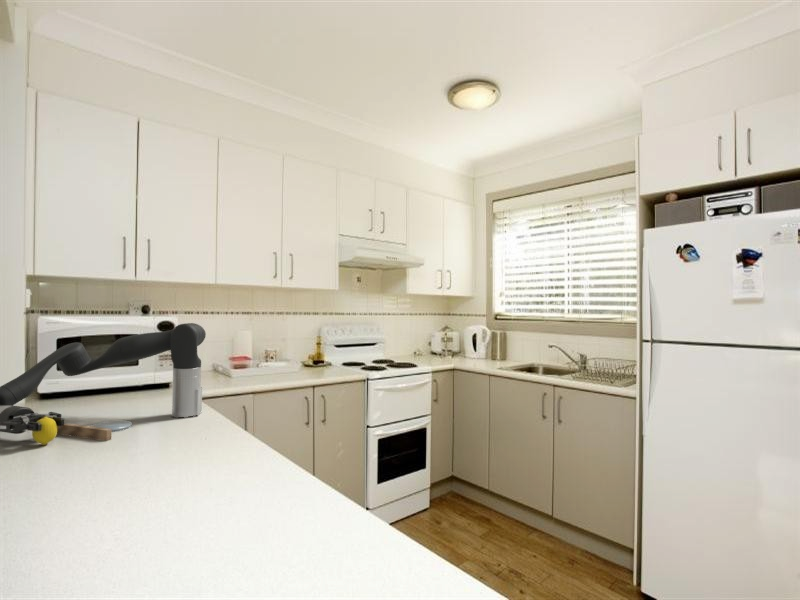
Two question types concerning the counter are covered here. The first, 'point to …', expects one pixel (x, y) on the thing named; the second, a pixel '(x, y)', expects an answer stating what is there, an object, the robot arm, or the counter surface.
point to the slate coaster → (113, 425)
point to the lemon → (45, 431)
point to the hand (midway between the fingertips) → (51, 424)
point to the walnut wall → (85, 431)
